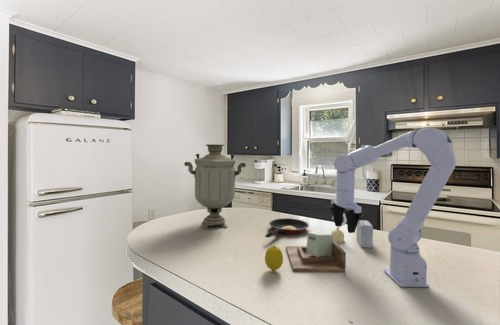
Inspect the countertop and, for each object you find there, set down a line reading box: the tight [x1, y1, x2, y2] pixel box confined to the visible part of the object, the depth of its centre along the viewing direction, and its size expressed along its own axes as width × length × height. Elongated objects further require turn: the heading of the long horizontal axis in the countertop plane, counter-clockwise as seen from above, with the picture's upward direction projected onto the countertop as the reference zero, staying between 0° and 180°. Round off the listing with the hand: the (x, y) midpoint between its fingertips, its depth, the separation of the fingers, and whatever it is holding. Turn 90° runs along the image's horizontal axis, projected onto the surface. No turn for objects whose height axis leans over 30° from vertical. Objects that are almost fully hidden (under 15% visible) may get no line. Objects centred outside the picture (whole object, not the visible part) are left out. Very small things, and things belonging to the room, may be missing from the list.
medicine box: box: [356, 219, 374, 249], centre depth 102 cm, size 8×4×9 cm, turn 168°
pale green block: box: [306, 231, 333, 257], centre depth 88 cm, size 5×8×7 cm, turn 120°
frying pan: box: [264, 217, 310, 238], centre depth 115 cm, size 19×32×4 cm, turn 149°
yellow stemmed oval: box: [330, 213, 347, 243], centre depth 106 cm, size 6×5×12 cm
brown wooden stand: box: [285, 239, 347, 273], centre depth 88 cm, size 18×16×6 cm
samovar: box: [184, 143, 247, 230], centre depth 128 cm, size 30×26×40 cm
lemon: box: [264, 245, 284, 272], centre depth 79 cm, size 6×6×8 cm
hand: (344, 229), depth 88 cm, fingers open, 7 cm apart
